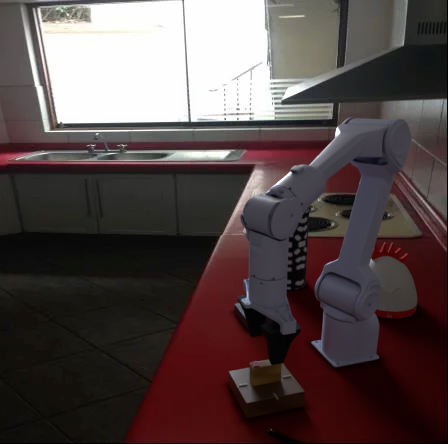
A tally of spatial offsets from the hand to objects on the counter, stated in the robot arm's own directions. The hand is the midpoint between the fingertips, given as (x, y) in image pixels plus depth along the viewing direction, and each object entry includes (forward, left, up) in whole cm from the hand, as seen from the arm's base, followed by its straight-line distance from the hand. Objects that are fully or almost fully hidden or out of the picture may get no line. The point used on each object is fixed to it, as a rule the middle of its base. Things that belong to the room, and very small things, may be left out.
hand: (265, 348), depth 68 cm
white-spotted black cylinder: (-24, -37, -10) cm, 45 cm away
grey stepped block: (-10, -23, -9) cm, 27 cm away
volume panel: (0, 0, -9) cm, 9 cm away
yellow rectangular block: (0, 0, -6) cm, 6 cm away
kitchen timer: (-39, -21, -10) cm, 45 cm away
